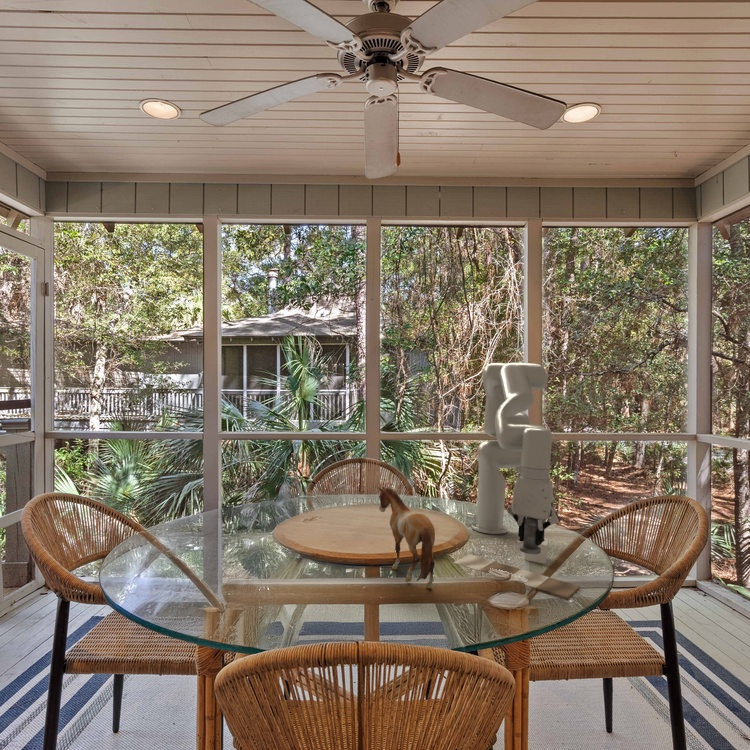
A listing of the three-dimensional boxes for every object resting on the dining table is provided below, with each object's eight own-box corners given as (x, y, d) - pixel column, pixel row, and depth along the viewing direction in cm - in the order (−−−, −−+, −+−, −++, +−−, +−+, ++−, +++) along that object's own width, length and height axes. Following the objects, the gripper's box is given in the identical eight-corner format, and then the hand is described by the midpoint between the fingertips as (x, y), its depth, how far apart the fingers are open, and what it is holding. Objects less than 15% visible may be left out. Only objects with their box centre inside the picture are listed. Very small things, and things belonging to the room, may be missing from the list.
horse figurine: (372, 556, 151) (377, 485, 151) (397, 554, 153) (402, 484, 153) (418, 602, 122) (423, 514, 121) (447, 599, 124) (453, 513, 124)
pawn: (516, 550, 139) (518, 515, 139) (524, 546, 143) (526, 512, 143) (536, 555, 136) (538, 519, 136) (543, 551, 140) (545, 516, 140)
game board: (452, 564, 148) (453, 562, 148) (469, 556, 156) (469, 554, 156) (567, 600, 128) (567, 597, 128) (579, 588, 136) (579, 585, 136)
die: (524, 561, 154) (525, 541, 154) (526, 555, 160) (527, 535, 160) (545, 565, 152) (547, 544, 152) (547, 559, 157) (548, 539, 157)
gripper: (499, 470, 142) (495, 537, 142) (561, 480, 132) (557, 553, 131) (510, 467, 148) (506, 532, 147) (570, 477, 138) (566, 546, 137)
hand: (530, 541), depth 139 cm, fingers closed on pawn, 3 cm apart
